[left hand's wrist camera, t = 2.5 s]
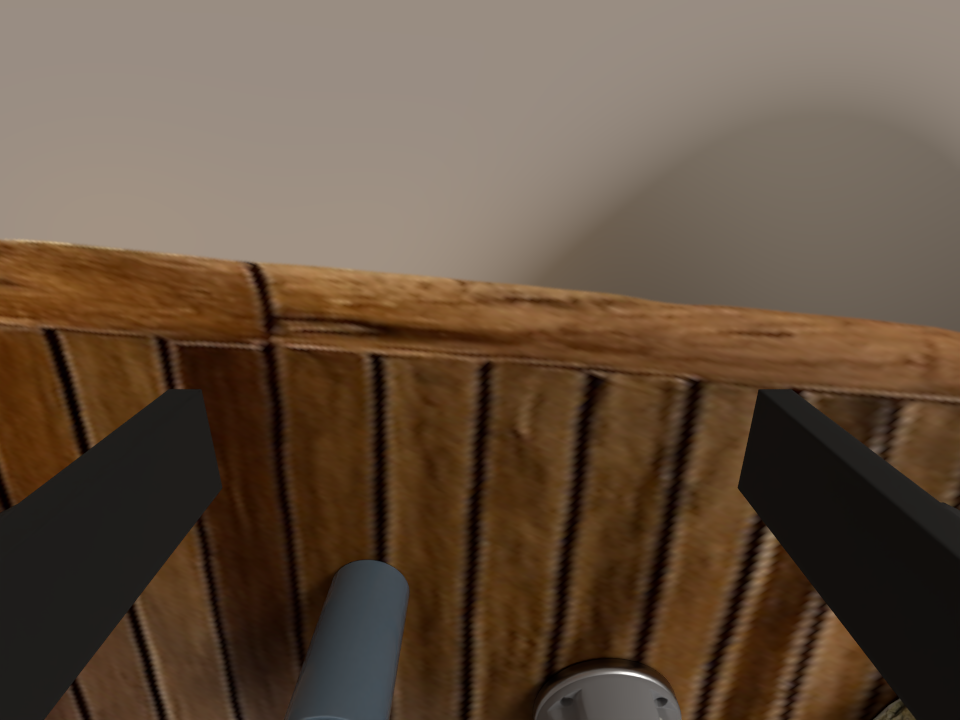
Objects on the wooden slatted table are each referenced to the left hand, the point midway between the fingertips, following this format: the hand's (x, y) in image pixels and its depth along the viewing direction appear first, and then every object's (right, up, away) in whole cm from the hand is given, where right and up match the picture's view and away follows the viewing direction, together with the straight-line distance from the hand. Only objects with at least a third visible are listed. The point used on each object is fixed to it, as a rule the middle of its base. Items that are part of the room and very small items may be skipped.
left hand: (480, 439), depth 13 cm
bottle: (-11, -20, +38) cm, 44 cm away
